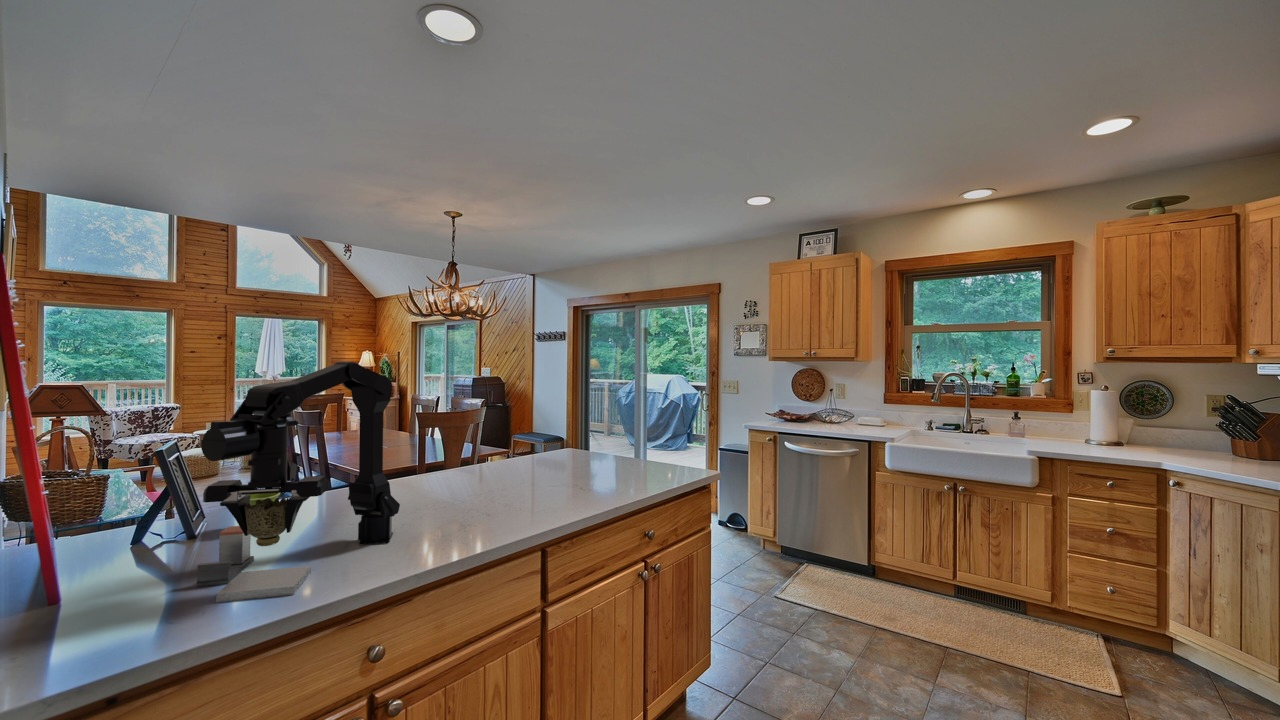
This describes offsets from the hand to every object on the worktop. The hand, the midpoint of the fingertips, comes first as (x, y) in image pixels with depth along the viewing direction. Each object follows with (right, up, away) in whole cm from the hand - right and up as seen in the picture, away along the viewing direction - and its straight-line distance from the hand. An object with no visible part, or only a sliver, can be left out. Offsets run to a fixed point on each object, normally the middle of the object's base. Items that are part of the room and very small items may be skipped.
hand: (268, 533), depth 100 cm
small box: (-14, -9, +9) cm, 19 cm away
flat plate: (0, -10, 0) cm, 10 cm away
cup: (0, -2, 0) cm, 2 cm away
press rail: (-13, -10, +6) cm, 17 cm away
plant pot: (-26, -10, +33) cm, 43 cm away
